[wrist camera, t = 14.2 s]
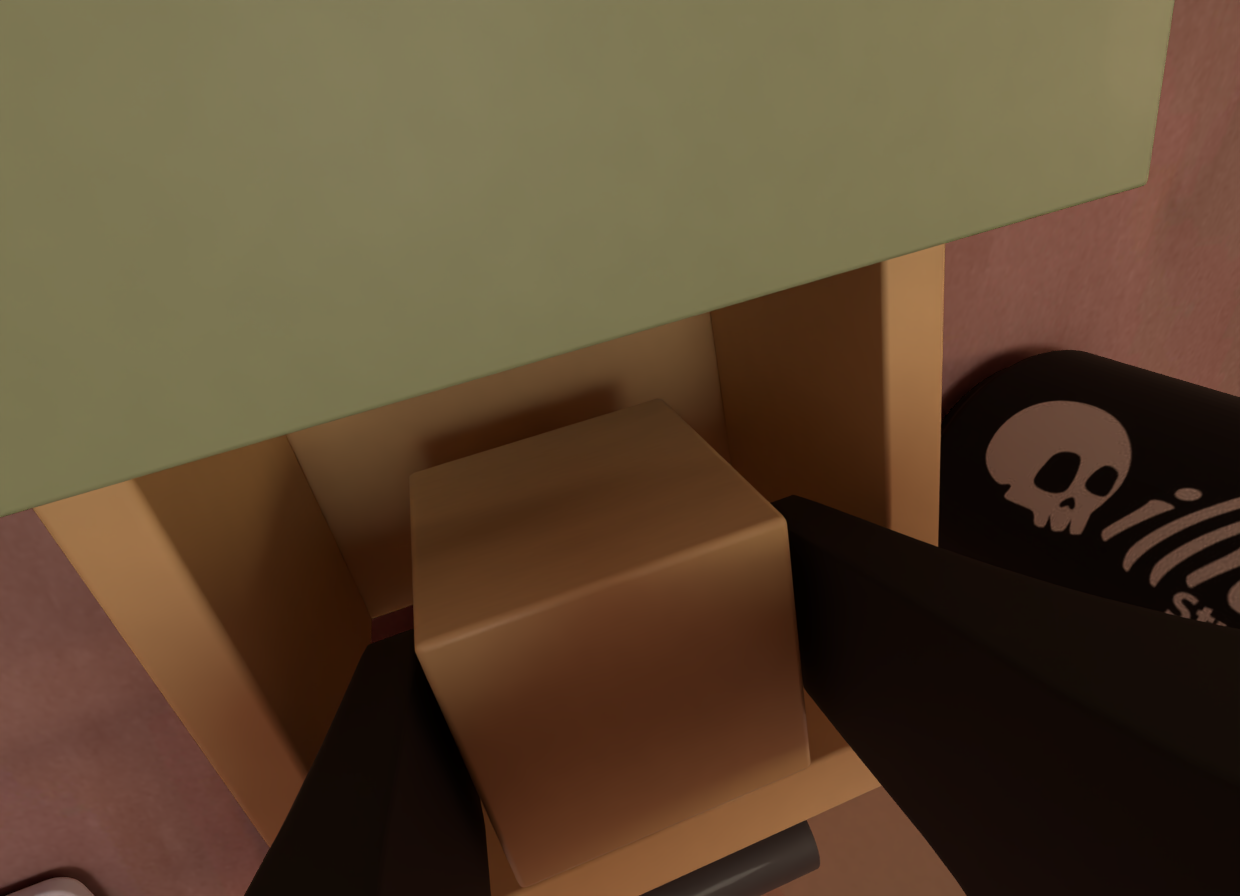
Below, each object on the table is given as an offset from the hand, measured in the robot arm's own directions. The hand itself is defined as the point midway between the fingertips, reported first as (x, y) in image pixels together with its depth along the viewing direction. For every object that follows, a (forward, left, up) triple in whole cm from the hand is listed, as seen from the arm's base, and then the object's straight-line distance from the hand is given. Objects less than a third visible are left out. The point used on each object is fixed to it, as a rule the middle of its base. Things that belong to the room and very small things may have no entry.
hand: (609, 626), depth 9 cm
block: (0, 0, -2) cm, 2 cm away
